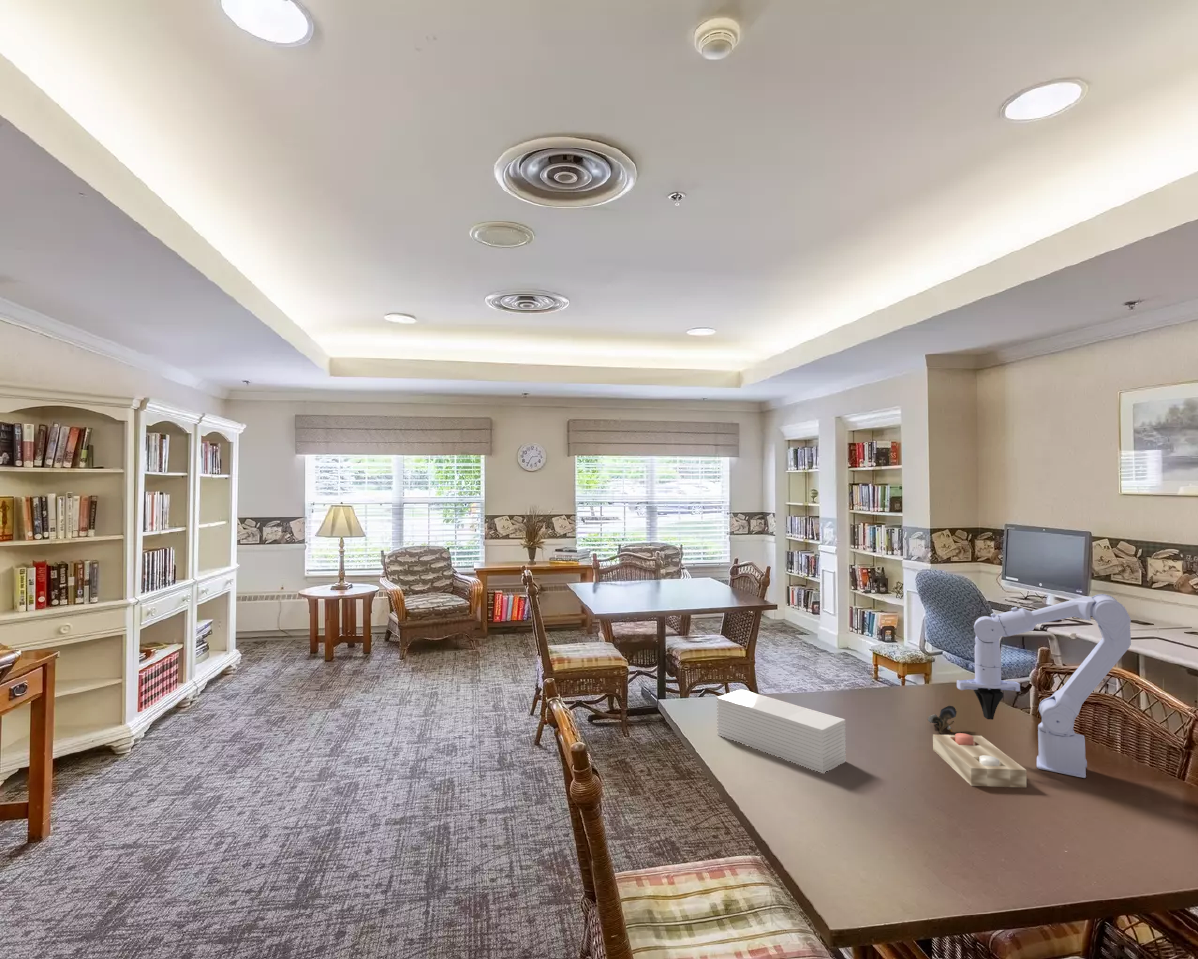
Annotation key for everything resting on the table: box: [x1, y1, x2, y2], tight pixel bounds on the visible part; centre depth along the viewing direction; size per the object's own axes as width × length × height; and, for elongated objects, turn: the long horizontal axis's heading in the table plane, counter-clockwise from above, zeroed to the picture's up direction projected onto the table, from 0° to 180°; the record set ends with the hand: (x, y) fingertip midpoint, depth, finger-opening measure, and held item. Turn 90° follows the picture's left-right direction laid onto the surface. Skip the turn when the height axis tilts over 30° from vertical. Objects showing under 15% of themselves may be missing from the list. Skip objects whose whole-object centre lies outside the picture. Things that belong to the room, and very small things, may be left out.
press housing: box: [932, 734, 1027, 789], centre depth 155 cm, size 12×20×4 cm, turn 175°
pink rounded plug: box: [954, 732, 974, 745], centre depth 161 cm, size 4×4×4 cm
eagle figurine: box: [927, 705, 958, 735], centre depth 179 cm, size 8×7×9 cm
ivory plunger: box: [979, 755, 999, 766], centre depth 149 cm, size 4×4×4 cm
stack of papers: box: [716, 688, 847, 774], centre depth 167 cm, size 32×11×11 cm, turn 40°
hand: (988, 718), depth 162 cm, fingers closed
